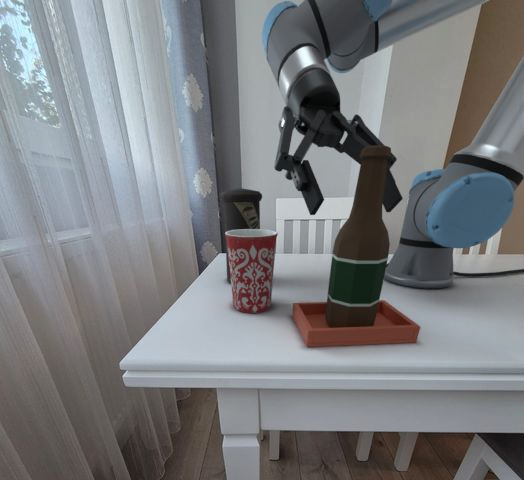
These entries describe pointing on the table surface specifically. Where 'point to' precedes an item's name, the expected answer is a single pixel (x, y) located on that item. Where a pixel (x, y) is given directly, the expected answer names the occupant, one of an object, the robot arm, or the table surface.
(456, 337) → the table surface
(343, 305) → the beer bottle
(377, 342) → the red tray
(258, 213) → the container
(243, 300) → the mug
